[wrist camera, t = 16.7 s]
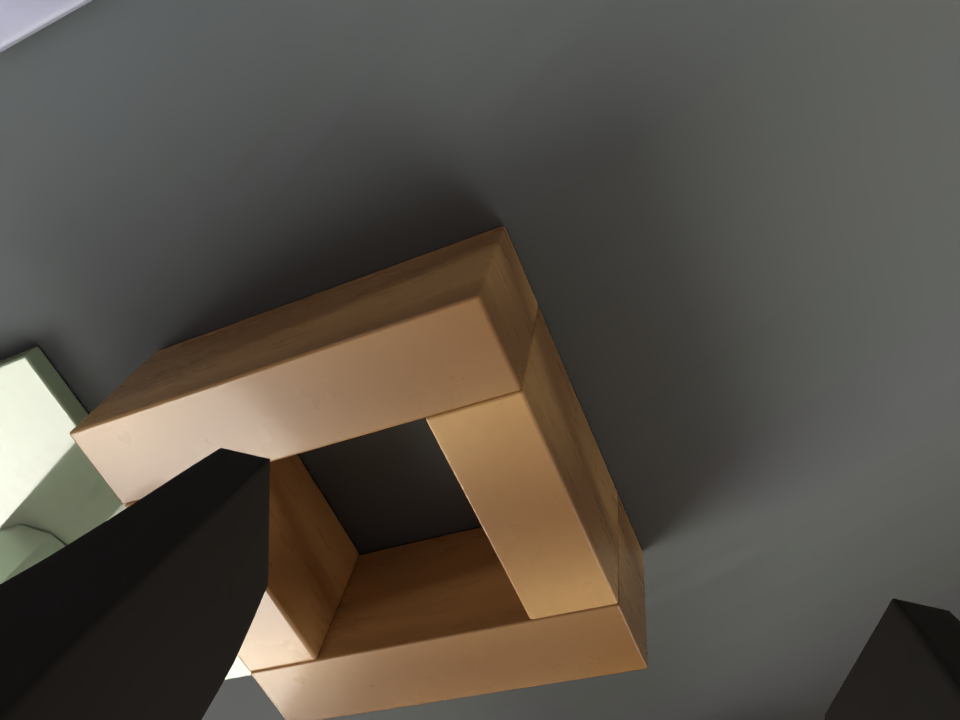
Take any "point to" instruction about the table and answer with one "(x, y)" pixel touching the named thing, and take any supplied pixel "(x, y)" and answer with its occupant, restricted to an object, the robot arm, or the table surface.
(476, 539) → the holder
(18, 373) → the tile
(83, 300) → the table surface
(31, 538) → the milkshake
